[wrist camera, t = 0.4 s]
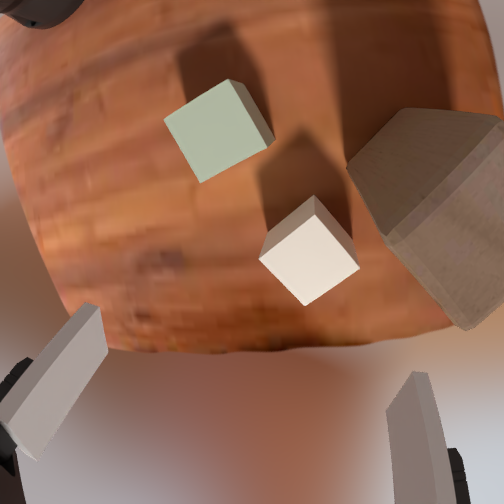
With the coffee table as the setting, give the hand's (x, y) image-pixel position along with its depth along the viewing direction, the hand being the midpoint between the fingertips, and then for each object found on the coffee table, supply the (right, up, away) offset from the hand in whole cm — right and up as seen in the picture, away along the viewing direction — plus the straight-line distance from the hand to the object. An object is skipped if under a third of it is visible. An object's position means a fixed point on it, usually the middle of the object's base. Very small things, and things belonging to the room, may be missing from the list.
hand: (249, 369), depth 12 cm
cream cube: (+7, +7, +25) cm, 27 cm away
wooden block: (+17, +14, +19) cm, 29 cm away
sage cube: (-2, +18, +21) cm, 28 cm away
